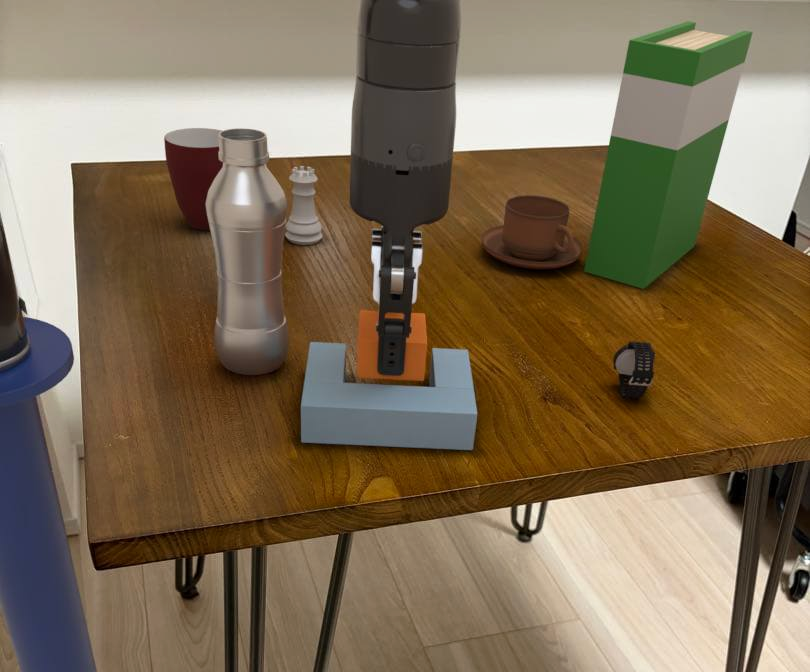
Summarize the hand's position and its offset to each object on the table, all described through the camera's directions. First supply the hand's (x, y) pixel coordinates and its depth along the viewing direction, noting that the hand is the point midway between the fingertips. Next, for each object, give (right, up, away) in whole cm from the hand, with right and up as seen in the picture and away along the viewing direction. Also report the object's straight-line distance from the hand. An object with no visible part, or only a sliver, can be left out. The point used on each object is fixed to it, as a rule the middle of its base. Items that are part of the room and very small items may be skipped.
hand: (390, 355), depth 76 cm
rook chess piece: (-11, +20, +31) cm, 39 cm away
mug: (-23, +23, +34) cm, 47 cm away
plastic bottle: (-13, 0, +6) cm, 14 cm away
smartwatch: (+22, -3, +6) cm, 23 cm away
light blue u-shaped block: (0, -5, +1) cm, 5 cm away
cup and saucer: (+16, +18, +31) cm, 39 cm away
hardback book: (+30, +18, +33) cm, 49 cm away
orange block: (0, -1, +1) cm, 1 cm away
